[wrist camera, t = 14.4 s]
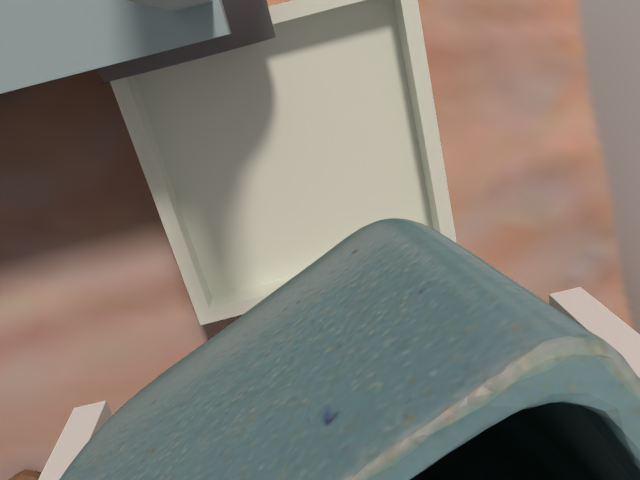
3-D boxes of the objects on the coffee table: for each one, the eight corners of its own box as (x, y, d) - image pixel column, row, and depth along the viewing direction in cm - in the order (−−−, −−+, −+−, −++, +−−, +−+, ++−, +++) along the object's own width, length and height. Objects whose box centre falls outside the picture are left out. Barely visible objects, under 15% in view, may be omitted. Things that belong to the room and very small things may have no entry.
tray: (204, 305, 30) (200, 325, 28) (111, 49, 25) (98, 50, 23) (445, 241, 30) (458, 257, 28) (400, -26, 25) (412, -31, 23)
